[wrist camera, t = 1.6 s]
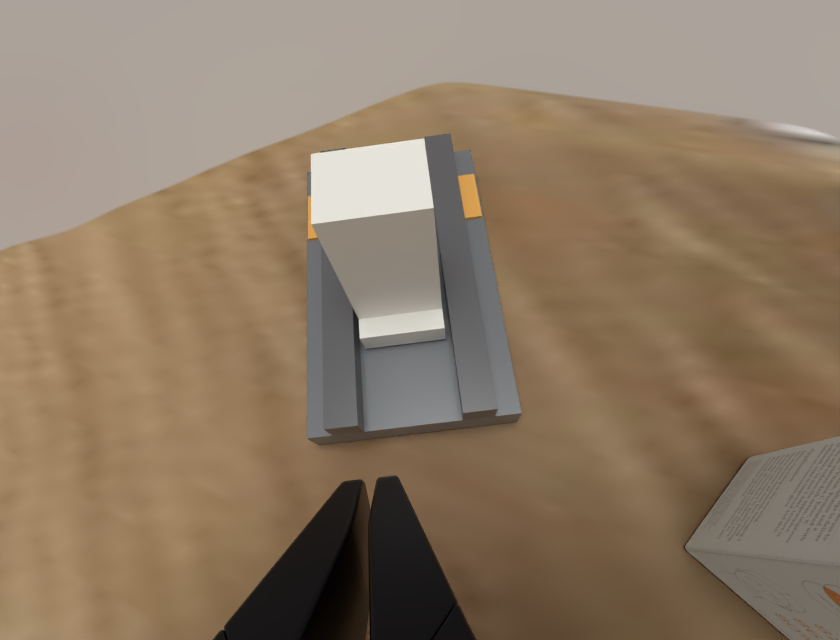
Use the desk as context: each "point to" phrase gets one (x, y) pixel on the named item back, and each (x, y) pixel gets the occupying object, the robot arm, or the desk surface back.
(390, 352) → the switch base
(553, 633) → the desk surface
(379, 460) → the desk surface
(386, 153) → the switch tab
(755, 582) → the small box
